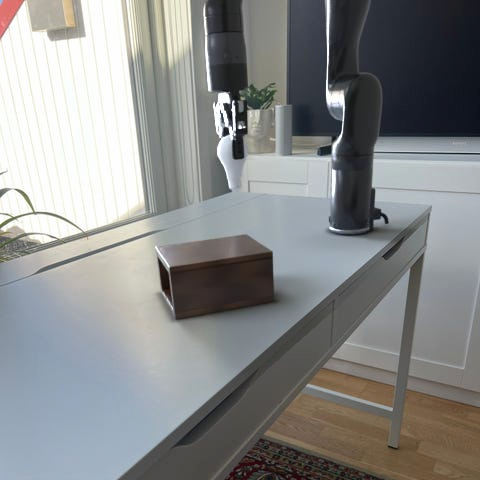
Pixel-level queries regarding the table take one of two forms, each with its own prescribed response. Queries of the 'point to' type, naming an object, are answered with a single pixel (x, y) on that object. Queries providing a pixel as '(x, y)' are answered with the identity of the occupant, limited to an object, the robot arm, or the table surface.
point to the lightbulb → (231, 162)
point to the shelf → (215, 275)
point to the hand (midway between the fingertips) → (233, 157)
